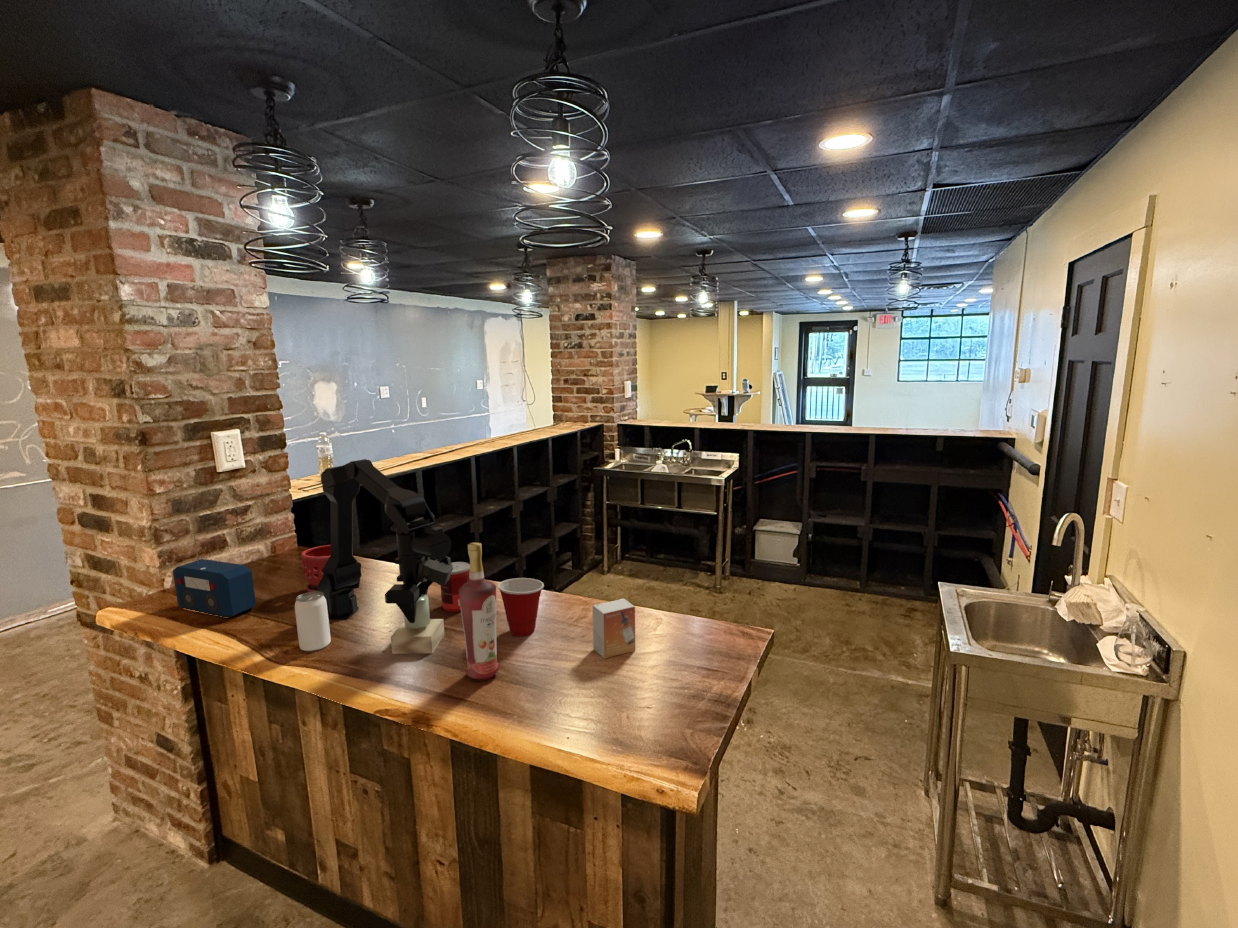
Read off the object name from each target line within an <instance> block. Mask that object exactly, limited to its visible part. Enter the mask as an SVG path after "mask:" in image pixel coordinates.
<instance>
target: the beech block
mask: <svg viewBox="0 0 1238 928" xmlns="http://www.w3.org/2000/svg"><path fill="white" fill-rule="evenodd" d="M444 623H445V622H444V618H430V623H429V624H428V625H426V626H424V627H421V628H416V629H410V628H407V627H405V622H404V621H403V622H402V623H401V624H400V625H399V627H398V628H396V630H395V631H394V632H393V634H392V635H391V636H390V645H391V654H392V655H395V654H397V655H398V654H409V655H412V654H433V653H434V651H435V650H436V649H437V647H438V646H439V644H440V642H441V641H442V639H443V638H444V636H445V625H444Z"/></svg>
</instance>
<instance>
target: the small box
mask: <svg viewBox="0 0 1238 928" xmlns="http://www.w3.org/2000/svg"><path fill="white" fill-rule="evenodd" d="M592 637H593V638H592V640H593V641H592V648H593V650H594V651H595V652H596V653H598V654H599V655H600V656H601V657H602V658H603V659H609V658H611V657H615V656H618V655H623V654H627V653H633V652H636V606H634V605H633V604H632V603H630V602H629V601H628V600H627V599H625V598H620V599H615V600H612V601H607V602H603V603H597V604H596V603H595V604H592Z"/></svg>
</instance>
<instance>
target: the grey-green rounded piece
mask: <svg viewBox="0 0 1238 928" xmlns="http://www.w3.org/2000/svg"><path fill="white" fill-rule="evenodd" d="M429 602H430V601H429V595H428V594H427V595H426V594H422V596H421V597H420V598H419V599H418V601H417V603H416V617H415V622H414V623H409V621H408V620H407V618H406V617H405V615H404V614H403V622H405V627H407V628H410V629H416V628H421V627H424V626H426V625H428V624H429V623H430V619H431V617H430V616H431V615H430V606H429V605H430V603H429Z"/></svg>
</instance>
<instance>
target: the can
mask: <svg viewBox="0 0 1238 928" xmlns="http://www.w3.org/2000/svg"><path fill="white" fill-rule="evenodd" d="M323 595H324V594H323V593H322V592H308V591H307V592H305V593H301V594H299V595H298V596H296V598H295V603H294V614H295V622H296V630H297V637H298V644H299V649H300V650H301V651H303V652H315V651H316V652H317V651H319V650H322V649H324V648H327V647H328V646H329V644H330V643H331V641H332V640H331V631H330V619H328V610H327V602H326V599H325V597H324V596H323Z"/></svg>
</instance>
